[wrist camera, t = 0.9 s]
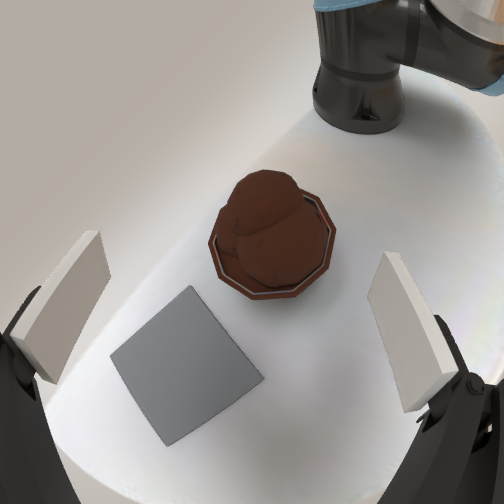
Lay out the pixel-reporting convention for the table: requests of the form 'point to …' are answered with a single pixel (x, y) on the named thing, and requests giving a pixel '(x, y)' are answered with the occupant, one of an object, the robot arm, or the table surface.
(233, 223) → the ice cream bowl
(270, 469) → the table surface
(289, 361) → the table surface
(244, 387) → the slate mat
